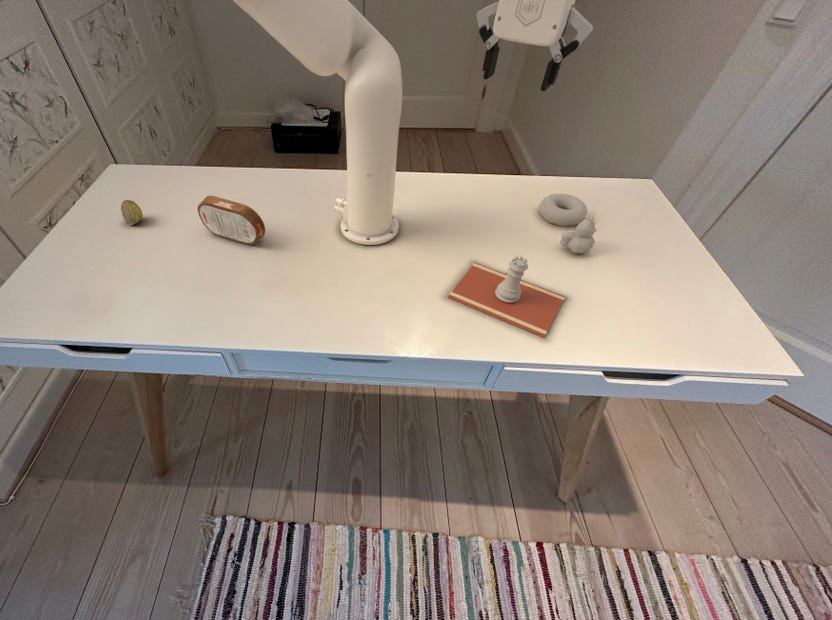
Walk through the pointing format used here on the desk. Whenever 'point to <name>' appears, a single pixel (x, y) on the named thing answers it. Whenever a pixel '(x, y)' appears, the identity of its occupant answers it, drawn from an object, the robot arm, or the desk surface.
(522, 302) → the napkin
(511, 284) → the rook chess piece
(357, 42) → the robot arm
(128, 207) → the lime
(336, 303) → the desk surface
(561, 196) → the donut
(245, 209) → the tin
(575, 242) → the grey lumpy figurine
